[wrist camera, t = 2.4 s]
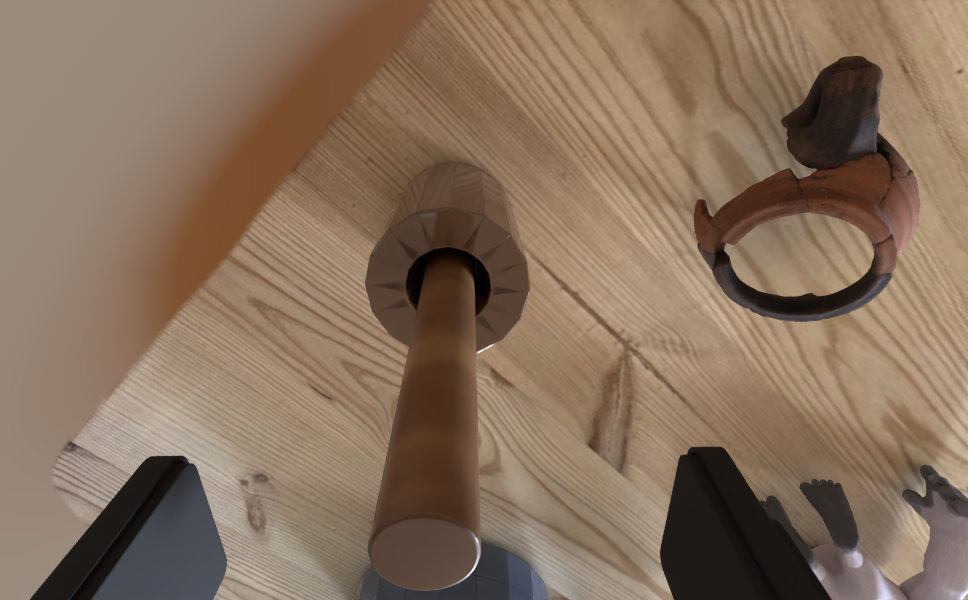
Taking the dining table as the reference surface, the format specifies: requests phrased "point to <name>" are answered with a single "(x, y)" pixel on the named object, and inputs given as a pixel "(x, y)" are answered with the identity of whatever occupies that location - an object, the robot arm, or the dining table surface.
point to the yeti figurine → (854, 577)
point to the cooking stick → (434, 441)
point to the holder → (457, 224)
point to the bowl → (468, 582)
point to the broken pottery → (824, 193)
